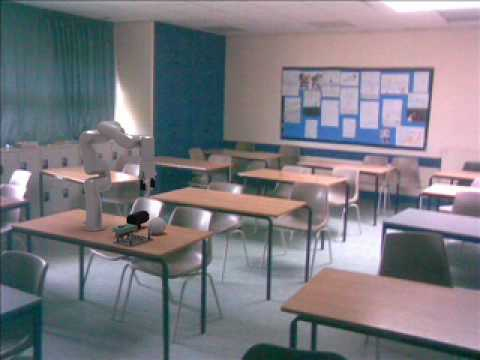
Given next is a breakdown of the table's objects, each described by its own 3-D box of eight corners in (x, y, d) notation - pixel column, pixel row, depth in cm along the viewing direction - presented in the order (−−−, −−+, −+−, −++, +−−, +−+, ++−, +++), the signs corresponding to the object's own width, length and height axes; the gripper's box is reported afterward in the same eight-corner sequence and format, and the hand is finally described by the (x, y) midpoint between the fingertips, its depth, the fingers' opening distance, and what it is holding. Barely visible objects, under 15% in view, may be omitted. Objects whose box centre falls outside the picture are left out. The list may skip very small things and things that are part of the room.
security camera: (123, 232, 322) (123, 215, 320) (140, 225, 339) (140, 209, 337) (133, 233, 319) (133, 216, 318) (150, 226, 336) (150, 210, 334)
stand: (120, 238, 308) (120, 233, 307) (115, 237, 310) (115, 232, 309) (133, 234, 316) (133, 229, 316) (128, 233, 318) (128, 228, 318)
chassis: (130, 247, 290) (130, 234, 289) (113, 243, 297) (113, 230, 296) (153, 240, 305) (153, 228, 304) (136, 236, 312) (136, 224, 311)
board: (121, 233, 306) (121, 227, 305) (112, 231, 309) (112, 225, 309) (136, 229, 316) (136, 223, 315) (127, 227, 319) (127, 221, 319)
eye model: (169, 233, 321) (169, 216, 320) (159, 236, 312) (159, 220, 311) (155, 230, 326) (155, 214, 324) (145, 234, 317) (145, 217, 315)
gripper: (150, 156, 307) (150, 186, 309) (132, 159, 291) (133, 190, 294) (161, 157, 304) (161, 187, 306) (144, 160, 288) (144, 192, 291)
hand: (147, 189), depth 300 cm, fingers open, 9 cm apart
